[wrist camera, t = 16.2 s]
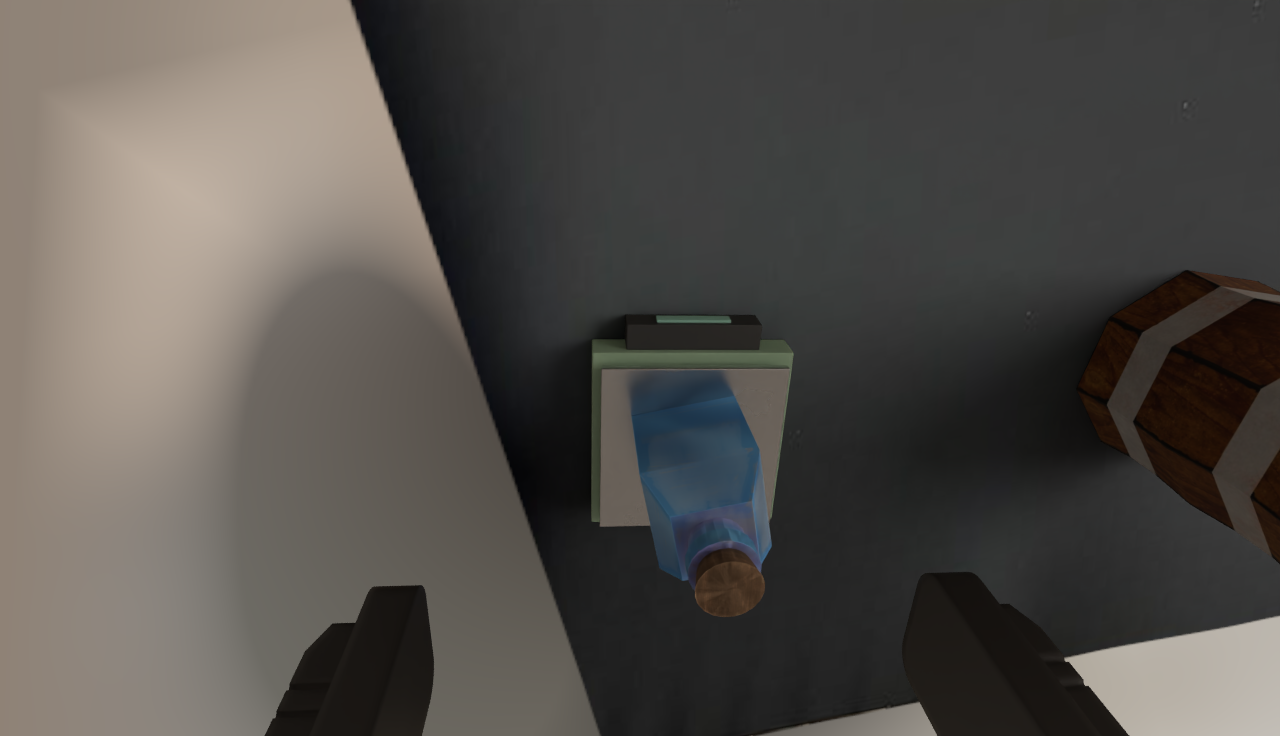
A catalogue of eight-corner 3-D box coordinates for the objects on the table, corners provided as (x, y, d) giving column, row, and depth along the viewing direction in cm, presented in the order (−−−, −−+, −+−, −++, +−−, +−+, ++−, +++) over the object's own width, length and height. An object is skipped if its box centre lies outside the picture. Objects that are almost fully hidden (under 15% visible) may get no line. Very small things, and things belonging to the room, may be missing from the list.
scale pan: (599, 515, 44) (599, 527, 43) (600, 360, 39) (601, 369, 38) (764, 512, 45) (769, 523, 44) (784, 360, 40) (790, 368, 39)
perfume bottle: (631, 416, 40) (649, 549, 29) (734, 395, 40) (792, 521, 29) (649, 501, 42) (672, 652, 31) (746, 482, 42) (803, 627, 31)
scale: (591, 502, 46) (591, 522, 44) (592, 311, 40) (592, 324, 38) (763, 499, 47) (771, 518, 45) (787, 312, 41) (797, 325, 39)
